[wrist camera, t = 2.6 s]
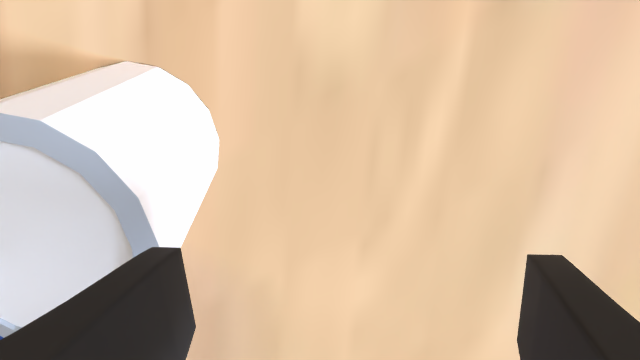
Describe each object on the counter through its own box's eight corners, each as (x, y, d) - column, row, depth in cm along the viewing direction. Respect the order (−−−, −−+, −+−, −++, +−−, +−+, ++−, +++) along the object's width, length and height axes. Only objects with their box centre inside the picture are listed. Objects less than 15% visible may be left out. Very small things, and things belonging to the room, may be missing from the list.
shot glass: (119, 246, 22) (7, 381, 16) (11, 91, 19) (-173, 176, 13) (271, 188, 20) (212, 316, 13) (170, 7, 17) (43, 60, 11)
